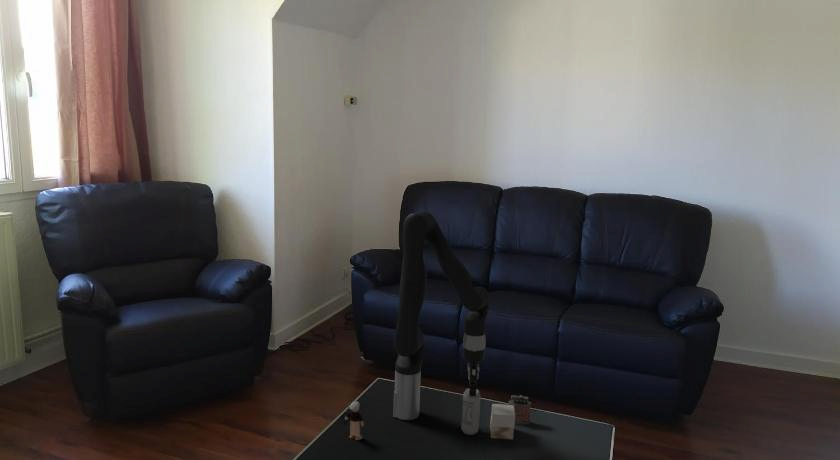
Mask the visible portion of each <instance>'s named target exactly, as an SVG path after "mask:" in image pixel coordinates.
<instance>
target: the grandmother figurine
mask: <svg viewBox="0 0 840 460" xmlns="http://www.w3.org/2000/svg"><path fill="white" fill-rule="evenodd" d="M360 406H361V405H360V402H359V401H353V402H352V403H351V404H350V406H349V410H351V411H349V412H347V413H346V414H345V417H344V420H345V421H347V420H348V419H349V418H350V422H349V429H350V431H349V433H350V435H349V438H350V439H354V440H356V441H359V440H362V439H363V435H361V427H364V426H365V423H364V419H363V417H362V414H361V413H360V412H359V410H360Z"/></svg>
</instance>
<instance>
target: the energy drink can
mask: <svg viewBox="0 0 840 460" xmlns="http://www.w3.org/2000/svg"><path fill="white" fill-rule="evenodd" d="M469 393H470V387H469V388H465V390H464V392H463V394H462V407H461V410H462V411H461V426H460V427H461V431H462V433H463V434H465V435H467V436H468V435H469V436H474V435H476V434H477V433H478V432H479V426H480V411H481V394H480V390H479V389H477V388H476V396H470V395H469Z"/></svg>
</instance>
